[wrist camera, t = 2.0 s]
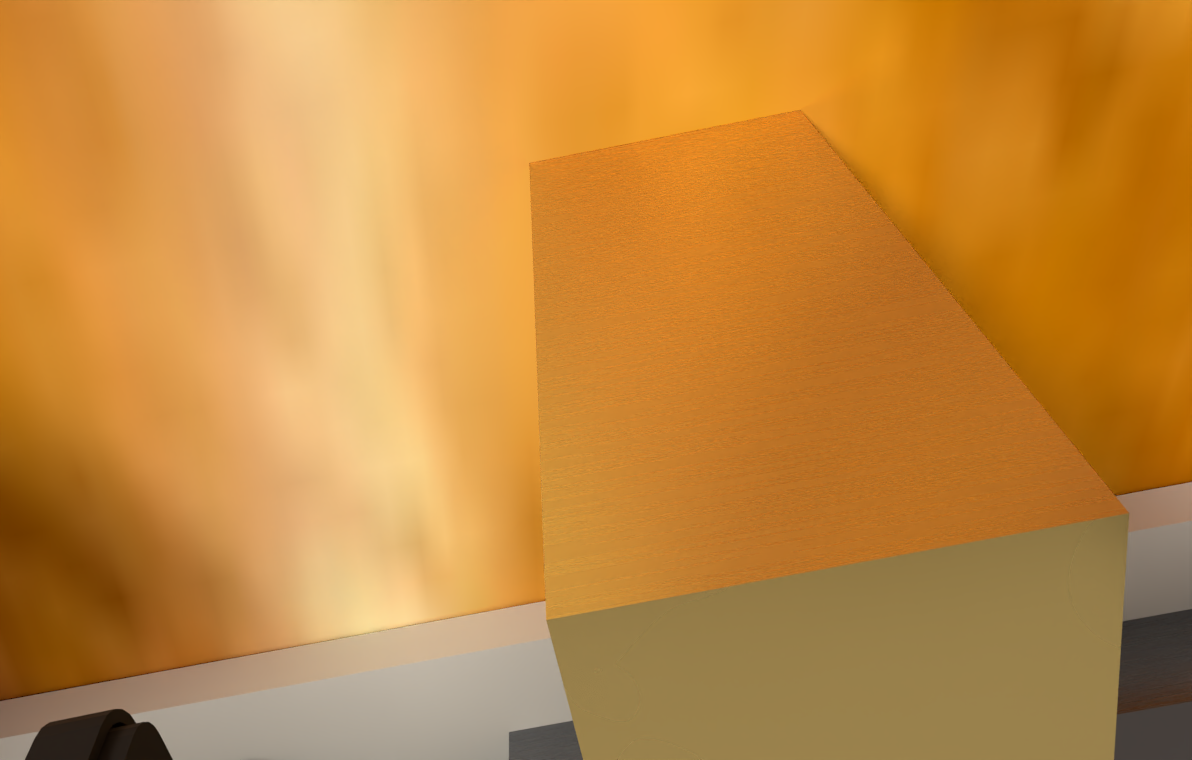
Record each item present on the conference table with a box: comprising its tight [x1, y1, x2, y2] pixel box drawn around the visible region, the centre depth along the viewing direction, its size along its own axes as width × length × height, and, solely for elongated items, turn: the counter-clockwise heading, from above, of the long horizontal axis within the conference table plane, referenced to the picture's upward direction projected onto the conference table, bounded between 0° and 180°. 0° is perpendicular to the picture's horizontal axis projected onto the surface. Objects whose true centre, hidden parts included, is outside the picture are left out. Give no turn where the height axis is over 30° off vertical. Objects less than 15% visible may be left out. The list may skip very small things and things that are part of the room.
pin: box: [529, 110, 1129, 760], centre depth 13 cm, size 4×4×10 cm
